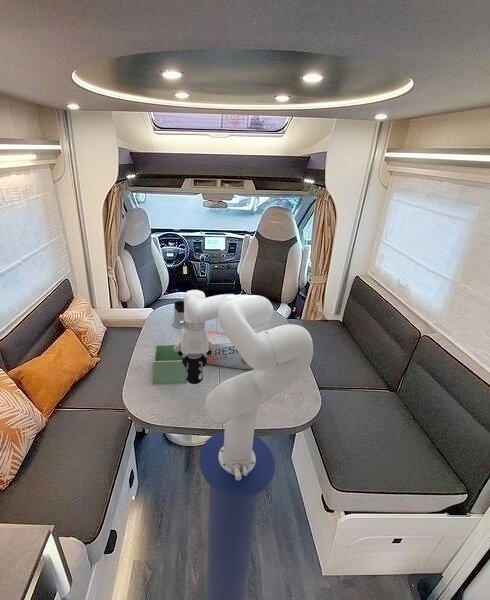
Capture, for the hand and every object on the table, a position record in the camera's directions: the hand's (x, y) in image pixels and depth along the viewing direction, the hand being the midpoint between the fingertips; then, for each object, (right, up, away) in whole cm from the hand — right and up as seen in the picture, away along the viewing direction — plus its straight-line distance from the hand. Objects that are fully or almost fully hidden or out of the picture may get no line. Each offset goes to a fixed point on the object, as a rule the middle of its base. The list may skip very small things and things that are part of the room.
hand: (194, 364), depth 120 cm
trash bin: (-13, -11, +31) cm, 35 cm away
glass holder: (-9, +9, +79) cm, 80 cm away
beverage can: (0, -7, +3) cm, 7 cm away
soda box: (+18, -7, +42) cm, 46 cm away
